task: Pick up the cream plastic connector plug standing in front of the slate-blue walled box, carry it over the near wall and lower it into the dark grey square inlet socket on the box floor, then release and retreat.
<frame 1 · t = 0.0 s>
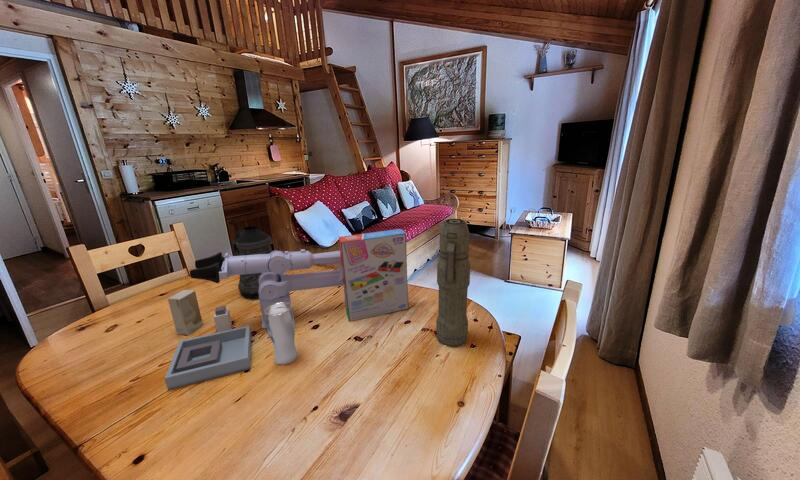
hand: (192, 269, 92), 22 cm above the table, tool horizontal, fingers open, 7 cm apart
plug: (224, 328, 103), on the table
beer stein: (259, 290, 127), on the table
inlet box: (214, 359, 88), on the table
skincare box: (190, 329, 103), on the table
thermos: (451, 338, 94), on the table
beer glass: (286, 357, 88), on the table
game box: (377, 312, 109), on the table
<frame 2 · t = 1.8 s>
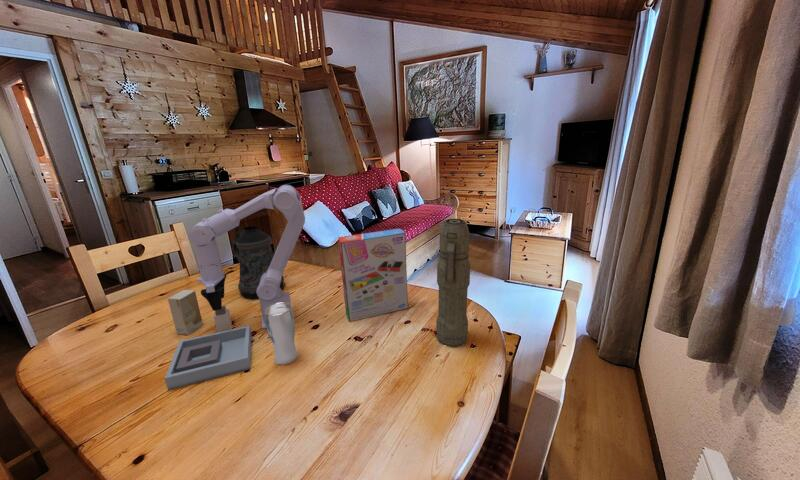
hand: (218, 303, 100), 9 cm above the table, tool pointing down, fingers open, 7 cm apart
nothing on the table moved.
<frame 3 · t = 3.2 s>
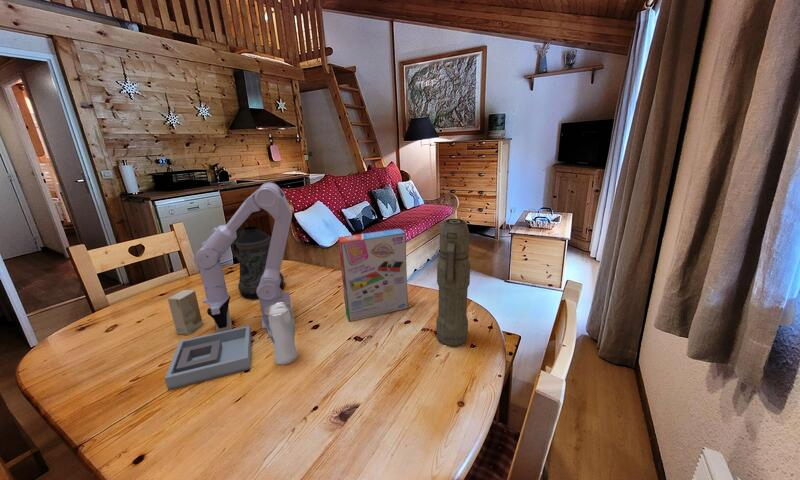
hand: (223, 323, 102), 2 cm above the table, tool pointing down, fingers closed on plug, 4 cm apart
plug: (224, 328, 103), on the table, touching gripper
everything else where it was.
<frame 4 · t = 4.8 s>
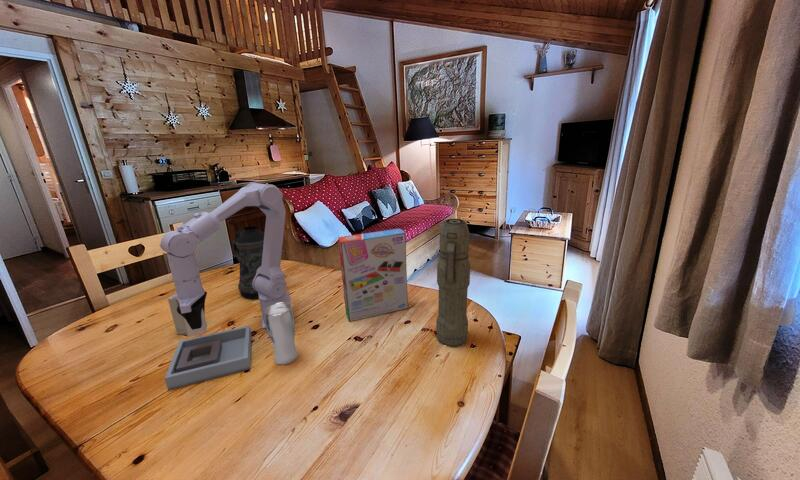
hand: (198, 323, 87), 10 cm above the table, tool pointing down, fingers closed on plug, 4 cm apart
plug: (198, 330, 87), point 8 cm above the table, touching gripper
everything else where it was.
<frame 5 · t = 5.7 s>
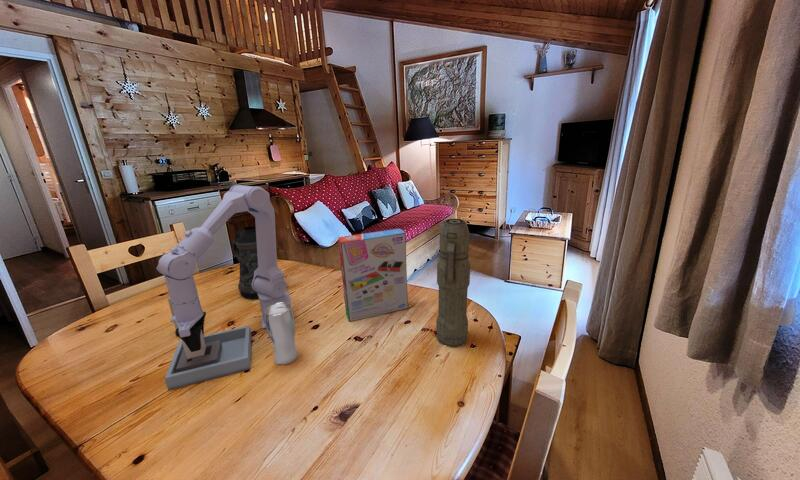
hand: (197, 345, 85), 5 cm above the table, tool pointing down, fingers closed on plug, 4 cm apart
plug: (196, 352, 86), point 3 cm above the table, touching gripper
everything else where it was.
when the fingers open (4 cm above the table, at t = 6.4 s): plug drops 1 cm, resting on inlet box.
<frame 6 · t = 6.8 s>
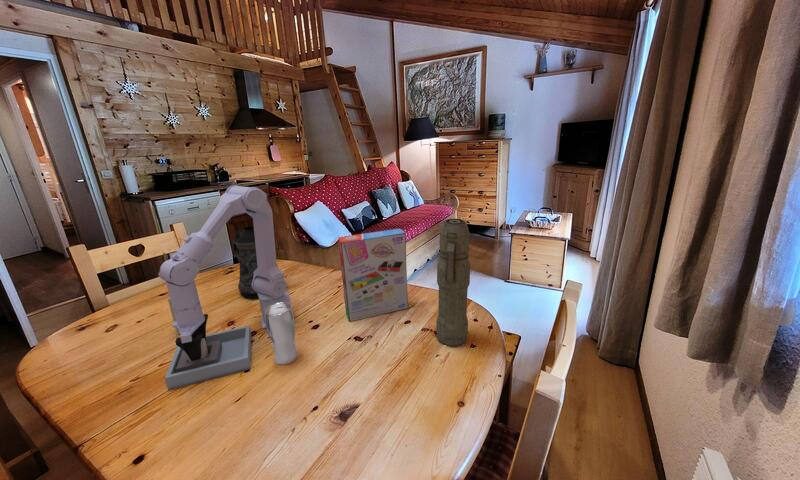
hand: (198, 350, 86), 4 cm above the table, tool pointing down, fingers open, 7 cm apart
plug: (199, 361, 87), point 1 cm above the table, touching inlet box
everything else where it was.
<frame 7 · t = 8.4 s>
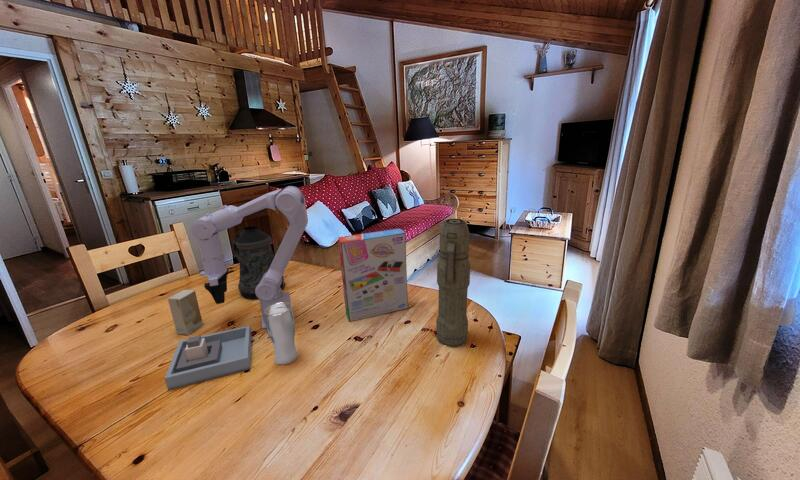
hand: (221, 297, 101), 10 cm above the table, tool pointing down, fingers open, 7 cm apart
nothing on the table moved.
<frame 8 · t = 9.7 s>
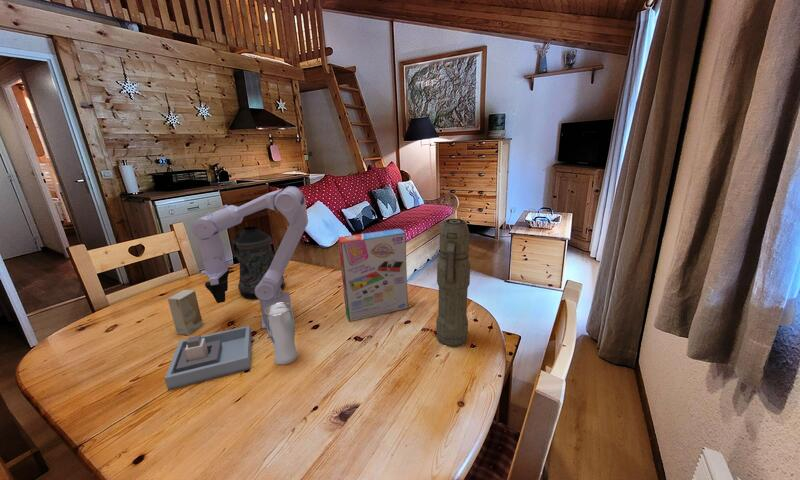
hand: (222, 296, 101), 10 cm above the table, tool pointing down, fingers open, 7 cm apart
nothing on the table moved.
at the end: plug 0.5 cm from the target spot on the inlet box, point 0.6 cm above the inlet box's base; plug tilted 0°; the gripper is holding nothing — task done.
